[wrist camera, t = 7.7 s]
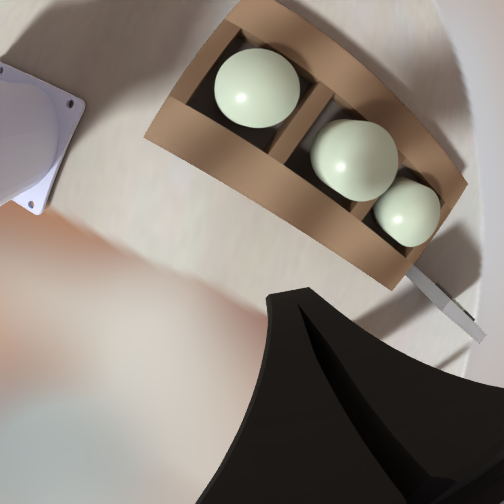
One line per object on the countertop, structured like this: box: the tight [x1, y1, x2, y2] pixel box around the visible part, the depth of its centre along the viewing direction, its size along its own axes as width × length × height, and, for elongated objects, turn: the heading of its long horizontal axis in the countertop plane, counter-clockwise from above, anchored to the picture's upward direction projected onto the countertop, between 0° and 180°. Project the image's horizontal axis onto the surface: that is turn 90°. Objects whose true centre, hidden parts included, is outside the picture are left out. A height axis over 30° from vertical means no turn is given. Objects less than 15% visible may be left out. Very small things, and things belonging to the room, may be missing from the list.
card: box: [405, 265, 486, 343], centre depth 21 cm, size 9×1×6 cm, turn 56°
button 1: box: [373, 176, 440, 247], centre depth 18 cm, size 4×4×2 cm
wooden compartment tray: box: [144, 0, 468, 291], centre depth 16 cm, size 19×10×2 cm, turn 56°
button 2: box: [214, 48, 300, 128], centre depth 14 cm, size 4×4×2 cm
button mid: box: [310, 119, 398, 201], centre depth 14 cm, size 4×4×2 cm
